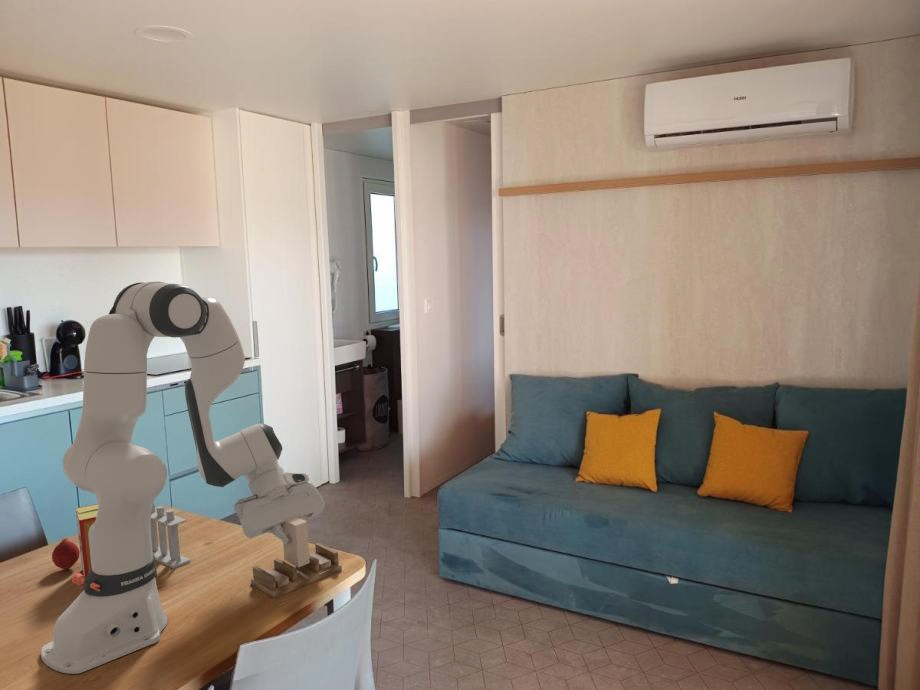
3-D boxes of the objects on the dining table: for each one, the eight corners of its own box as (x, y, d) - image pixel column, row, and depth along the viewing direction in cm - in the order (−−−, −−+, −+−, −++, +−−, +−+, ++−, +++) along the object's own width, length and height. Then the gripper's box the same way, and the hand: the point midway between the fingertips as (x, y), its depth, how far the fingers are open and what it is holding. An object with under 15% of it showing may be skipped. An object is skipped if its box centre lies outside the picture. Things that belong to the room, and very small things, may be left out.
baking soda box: (117, 577, 163) (110, 512, 161) (86, 585, 159) (79, 519, 157) (111, 562, 171) (105, 500, 168) (82, 570, 167) (75, 506, 165)
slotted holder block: (274, 598, 151) (273, 580, 150) (251, 583, 158) (249, 566, 157) (341, 569, 164) (340, 553, 163) (317, 557, 171) (316, 541, 170)
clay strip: (298, 567, 157) (295, 525, 156) (284, 559, 162) (281, 518, 160) (309, 562, 159) (307, 521, 158) (295, 555, 164) (292, 515, 162)
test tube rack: (122, 544, 182) (117, 496, 180) (138, 538, 185) (134, 491, 183) (173, 569, 167) (169, 516, 165) (190, 562, 170) (186, 511, 168)
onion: (79, 572, 166) (75, 540, 165) (51, 577, 164) (48, 544, 163) (82, 562, 171) (79, 531, 170) (55, 566, 169) (52, 535, 168)
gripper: (235, 495, 156) (260, 548, 150) (312, 472, 170) (338, 520, 164) (227, 509, 159) (251, 561, 154) (303, 485, 174) (328, 532, 168)
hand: (297, 540), depth 159 cm, fingers closed on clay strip, 3 cm apart
